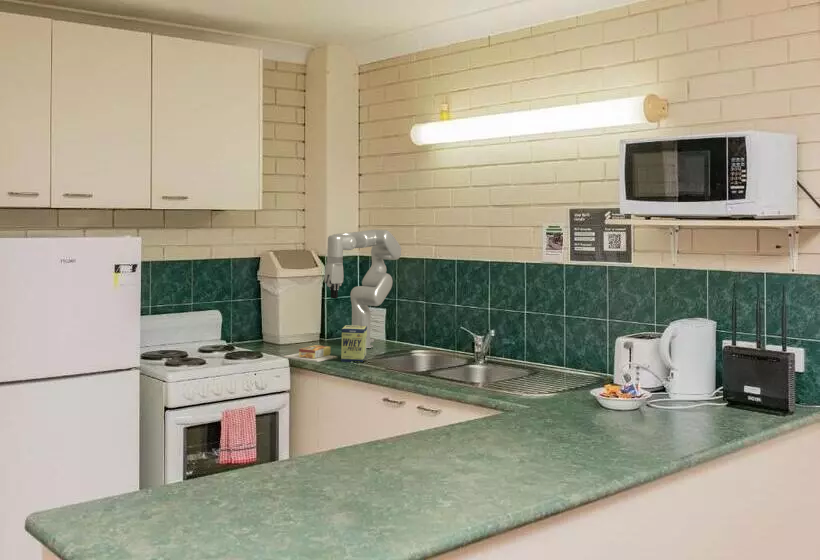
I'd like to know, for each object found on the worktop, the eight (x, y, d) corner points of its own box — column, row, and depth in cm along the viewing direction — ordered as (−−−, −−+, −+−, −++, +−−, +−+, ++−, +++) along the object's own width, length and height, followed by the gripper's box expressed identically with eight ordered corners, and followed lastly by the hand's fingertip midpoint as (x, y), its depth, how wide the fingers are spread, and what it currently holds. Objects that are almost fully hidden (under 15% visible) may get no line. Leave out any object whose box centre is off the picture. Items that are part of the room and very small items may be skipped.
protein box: (340, 362, 418) (341, 328, 417) (344, 356, 433) (345, 324, 432) (363, 362, 417) (364, 329, 416) (366, 357, 433) (367, 325, 432)
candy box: (314, 353, 438) (298, 357, 424) (315, 344, 437) (298, 348, 423) (330, 354, 434) (314, 359, 420) (331, 346, 434) (315, 350, 420)
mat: (304, 353, 440) (304, 352, 440) (337, 357, 430) (337, 356, 430) (283, 357, 426) (283, 356, 426) (317, 361, 416) (317, 360, 416)
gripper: (337, 259, 449) (336, 296, 450) (319, 260, 436) (318, 298, 437) (350, 260, 445) (349, 297, 446) (332, 261, 432) (331, 299, 433)
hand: (334, 298), depth 442 cm, fingers closed
